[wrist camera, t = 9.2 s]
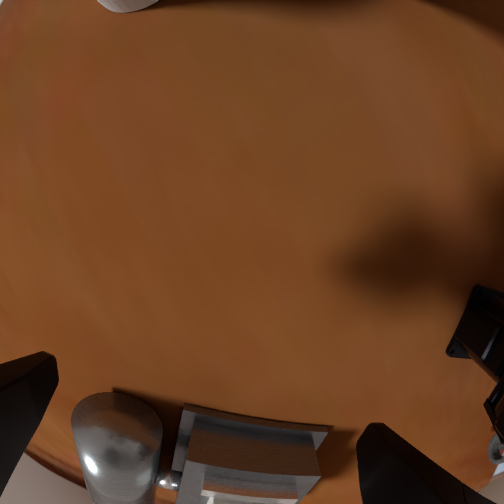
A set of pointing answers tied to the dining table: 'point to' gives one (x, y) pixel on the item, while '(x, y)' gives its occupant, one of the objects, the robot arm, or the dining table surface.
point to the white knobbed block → (227, 501)
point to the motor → (192, 454)
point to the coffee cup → (126, 5)
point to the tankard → (495, 450)
